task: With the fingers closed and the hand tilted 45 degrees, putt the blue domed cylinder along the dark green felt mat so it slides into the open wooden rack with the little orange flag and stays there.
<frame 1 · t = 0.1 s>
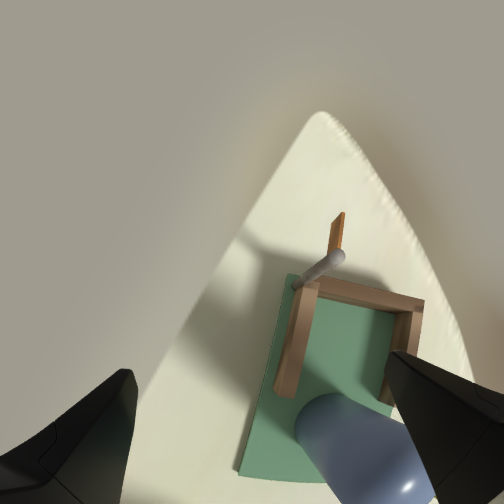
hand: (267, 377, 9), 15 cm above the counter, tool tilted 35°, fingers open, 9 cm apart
blue domed cylinder: (327, 424, 21), point 1 cm above the counter, touching felt mat
wooden rack: (342, 354, 23), resting on felt mat
felt mat: (333, 392, 22), on the counter
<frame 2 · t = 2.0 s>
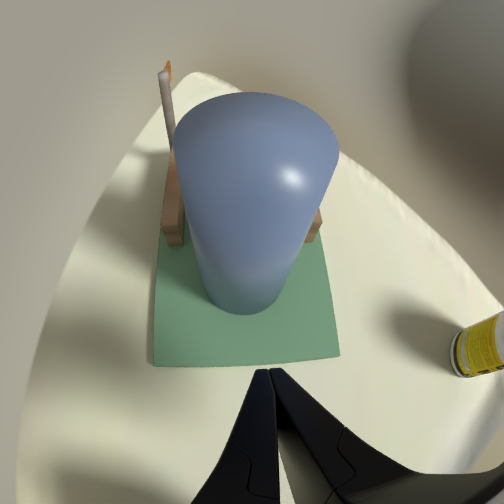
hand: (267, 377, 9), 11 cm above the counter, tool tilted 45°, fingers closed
supplement bottle: (464, 354, 20), on the counter
blue domed cylinder: (243, 275, 21), point 1 cm above the counter, touching felt mat
wooden rack: (238, 208, 25), resting on felt mat
felt mat: (240, 244, 23), on the counter
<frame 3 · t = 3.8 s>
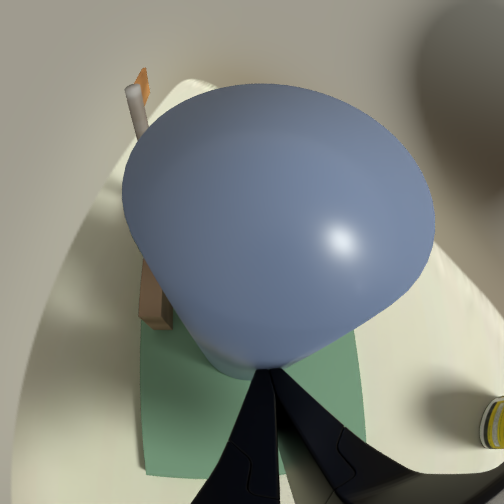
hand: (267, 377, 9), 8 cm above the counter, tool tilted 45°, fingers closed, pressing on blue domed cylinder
supplement bottle: (492, 423, 14), on the counter
blue domed cylinder: (249, 330, 16), point 1 cm above the counter, touching felt mat, gripper
wooden rack: (244, 271, 19), resting on felt mat
felt mat: (248, 324, 17), on the counter
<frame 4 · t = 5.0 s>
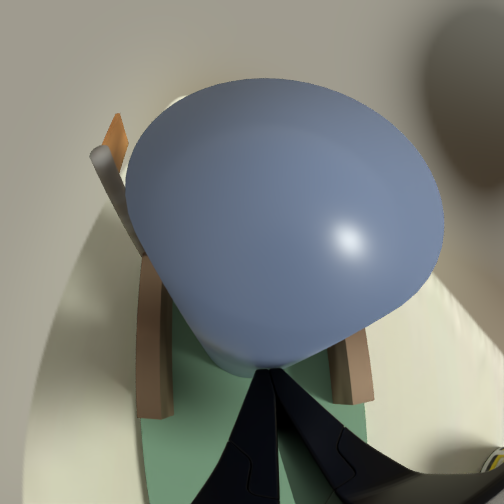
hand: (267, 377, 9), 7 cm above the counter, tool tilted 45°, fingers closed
supplement bottle: (491, 471, 11), on the counter
blue domed cylinder: (251, 327, 16), point 1 cm above the counter, touching felt mat
wooden rack: (249, 349, 16), resting on felt mat
felt mat: (253, 407, 15), on the counter
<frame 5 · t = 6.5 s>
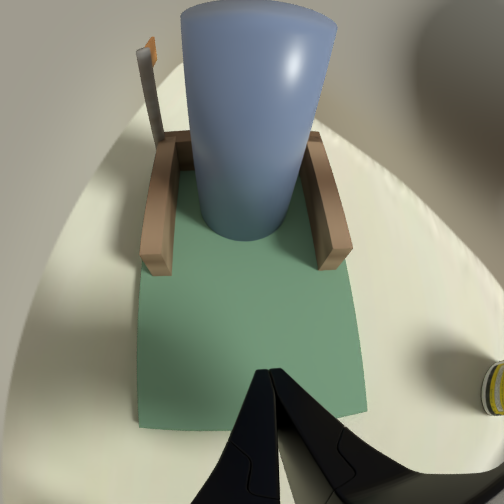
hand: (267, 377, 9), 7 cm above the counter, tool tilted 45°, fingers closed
supplement bottle: (494, 389, 15), on the counter
blue domed cylinder: (243, 203, 20), point 1 cm above the counter, touching felt mat
wooden rack: (242, 223, 20), resting on felt mat
felt mat: (245, 272, 18), on the counter
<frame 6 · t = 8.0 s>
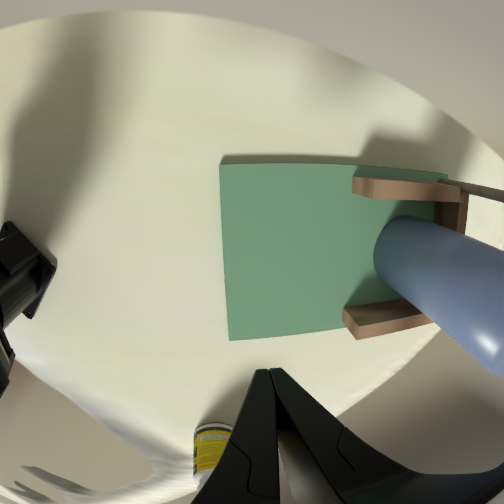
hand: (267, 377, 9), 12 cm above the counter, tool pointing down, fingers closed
supplement bottle: (215, 432, 26), on the counter
blue domed cylinder: (403, 250, 21), point 1 cm above the counter, touching felt mat
wooden rack: (387, 248, 21), resting on felt mat
felt mat: (349, 251, 21), on the counter
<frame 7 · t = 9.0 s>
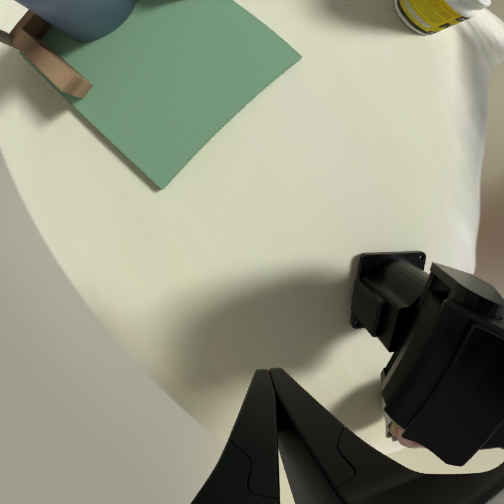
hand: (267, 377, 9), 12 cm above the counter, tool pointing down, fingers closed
supplement bottle: (413, 15, 15), on the counter
cupcake: (403, 384, 27), on the counter
blue domed cylinder: (99, 10, 13), point 1 cm above the counter, touching felt mat
wooden rack: (110, 19, 14), resting on felt mat
felt mat: (138, 39, 15), on the counter
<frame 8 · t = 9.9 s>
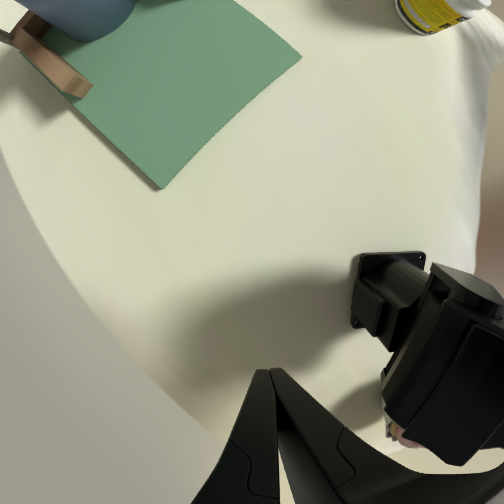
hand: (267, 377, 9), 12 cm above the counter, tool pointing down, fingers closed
supplement bottle: (413, 15, 15), on the counter
cupcake: (403, 384, 27), on the counter
blue domed cylinder: (99, 10, 13), point 1 cm above the counter, touching felt mat
wooden rack: (111, 19, 14), resting on felt mat
felt mat: (138, 38, 15), on the counter
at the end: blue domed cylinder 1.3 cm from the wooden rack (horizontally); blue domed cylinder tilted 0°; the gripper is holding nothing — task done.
